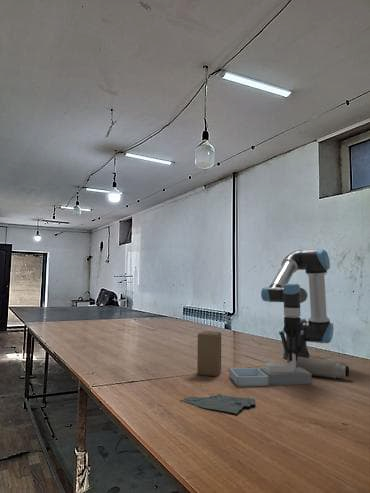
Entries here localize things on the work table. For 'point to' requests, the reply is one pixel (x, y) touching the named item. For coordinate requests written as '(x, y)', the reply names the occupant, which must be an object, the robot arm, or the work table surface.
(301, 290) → the robot arm
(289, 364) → the tile
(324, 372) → the thermos bottle
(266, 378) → the tray
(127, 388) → the work table surface
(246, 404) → the decorative slab
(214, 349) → the wooden block
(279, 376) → the board
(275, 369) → the tile
